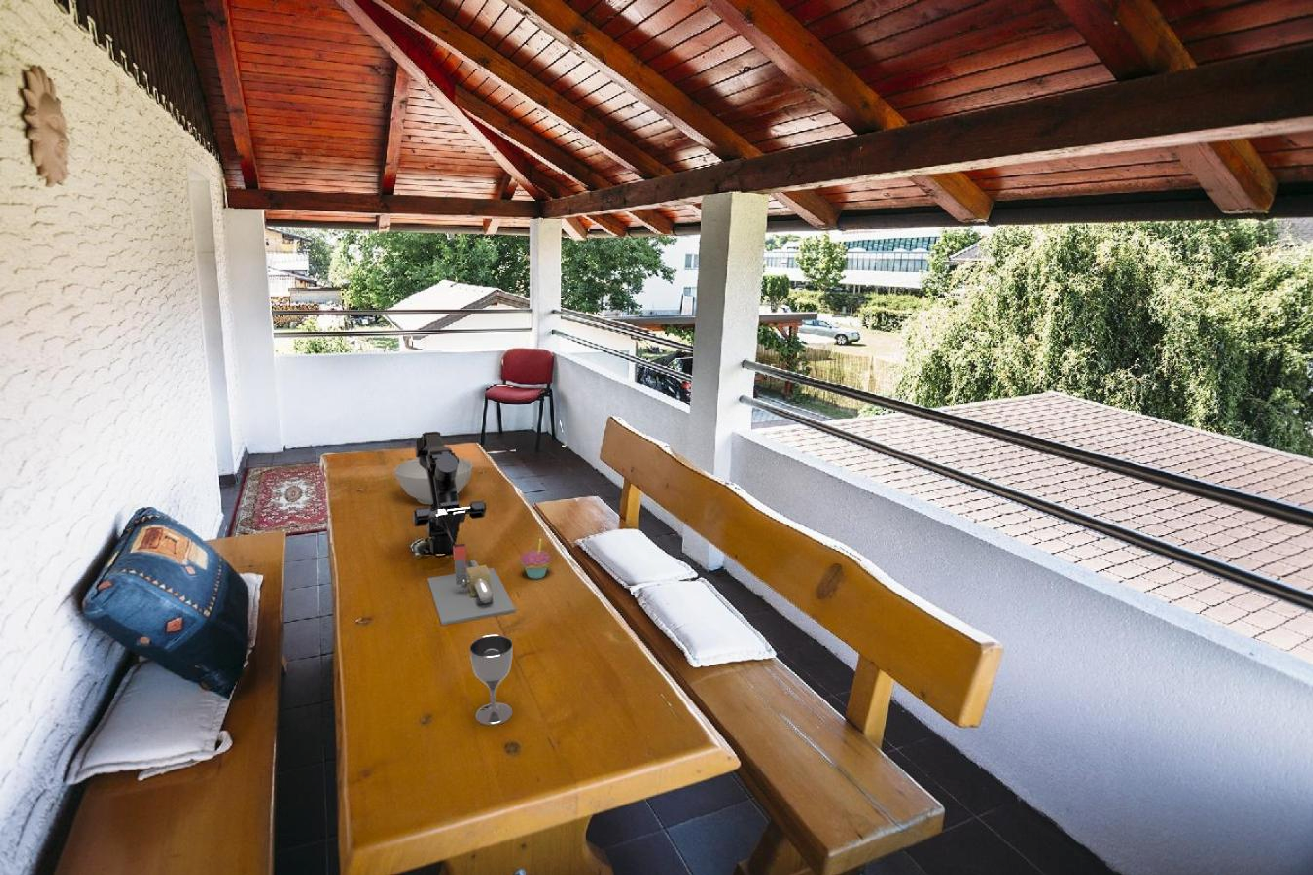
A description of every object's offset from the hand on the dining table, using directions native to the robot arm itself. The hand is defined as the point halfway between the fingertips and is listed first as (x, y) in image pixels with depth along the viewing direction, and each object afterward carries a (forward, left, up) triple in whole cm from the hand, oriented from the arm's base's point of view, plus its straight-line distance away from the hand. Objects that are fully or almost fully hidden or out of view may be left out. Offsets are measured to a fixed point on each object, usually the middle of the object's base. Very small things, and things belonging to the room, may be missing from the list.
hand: (454, 541), depth 192 cm
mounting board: (0, +7, -13) cm, 15 cm away
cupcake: (-20, +7, -13) cm, 25 cm away
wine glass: (+18, +56, -13) cm, 60 cm away
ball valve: (-3, +8, -13) cm, 15 cm away
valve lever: (+2, +7, -10) cm, 12 cm away
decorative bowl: (-23, -69, -13) cm, 74 cm away
